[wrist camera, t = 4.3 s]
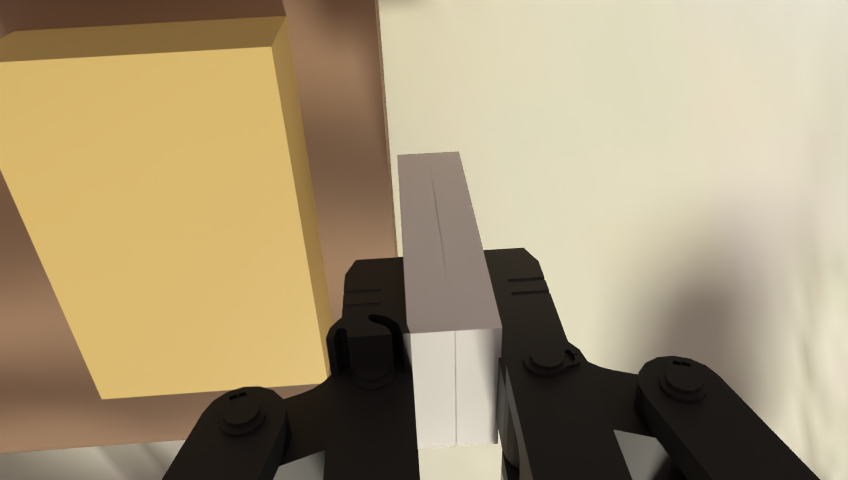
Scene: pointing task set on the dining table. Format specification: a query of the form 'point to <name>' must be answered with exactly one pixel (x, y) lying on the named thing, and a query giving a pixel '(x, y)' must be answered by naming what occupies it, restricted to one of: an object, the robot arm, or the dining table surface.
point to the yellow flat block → (170, 201)
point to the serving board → (332, 188)
